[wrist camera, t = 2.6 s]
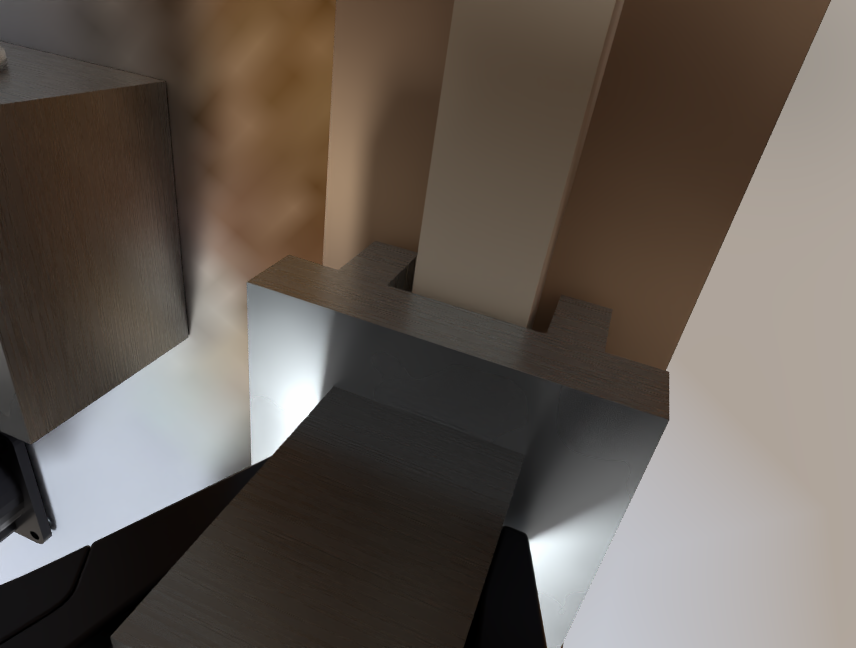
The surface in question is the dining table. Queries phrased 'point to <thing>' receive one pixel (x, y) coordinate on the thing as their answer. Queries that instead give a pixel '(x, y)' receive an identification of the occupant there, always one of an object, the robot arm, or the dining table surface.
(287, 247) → the dining table surface
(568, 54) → the rail
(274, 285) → the carriage
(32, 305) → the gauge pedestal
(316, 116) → the dining table surface
